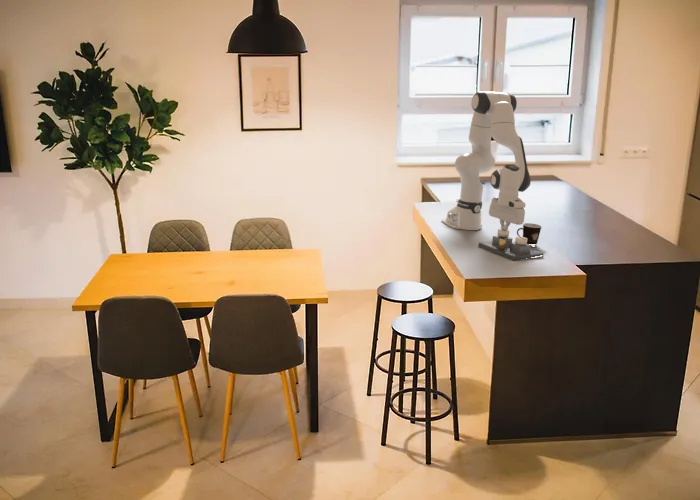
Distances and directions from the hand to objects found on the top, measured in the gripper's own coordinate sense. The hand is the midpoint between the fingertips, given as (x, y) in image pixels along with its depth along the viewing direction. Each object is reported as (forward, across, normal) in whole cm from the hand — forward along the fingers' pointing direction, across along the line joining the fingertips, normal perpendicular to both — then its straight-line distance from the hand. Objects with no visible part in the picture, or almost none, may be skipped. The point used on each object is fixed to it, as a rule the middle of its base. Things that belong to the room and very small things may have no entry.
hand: (504, 229), depth 337 cm
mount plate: (+9, +6, 0) cm, 11 cm away
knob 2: (+7, +12, 0) cm, 14 cm away
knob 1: (+6, 0, 0) cm, 6 cm away
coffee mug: (+9, -1, +17) cm, 19 cm away
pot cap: (+7, +6, -6) cm, 11 cm away
